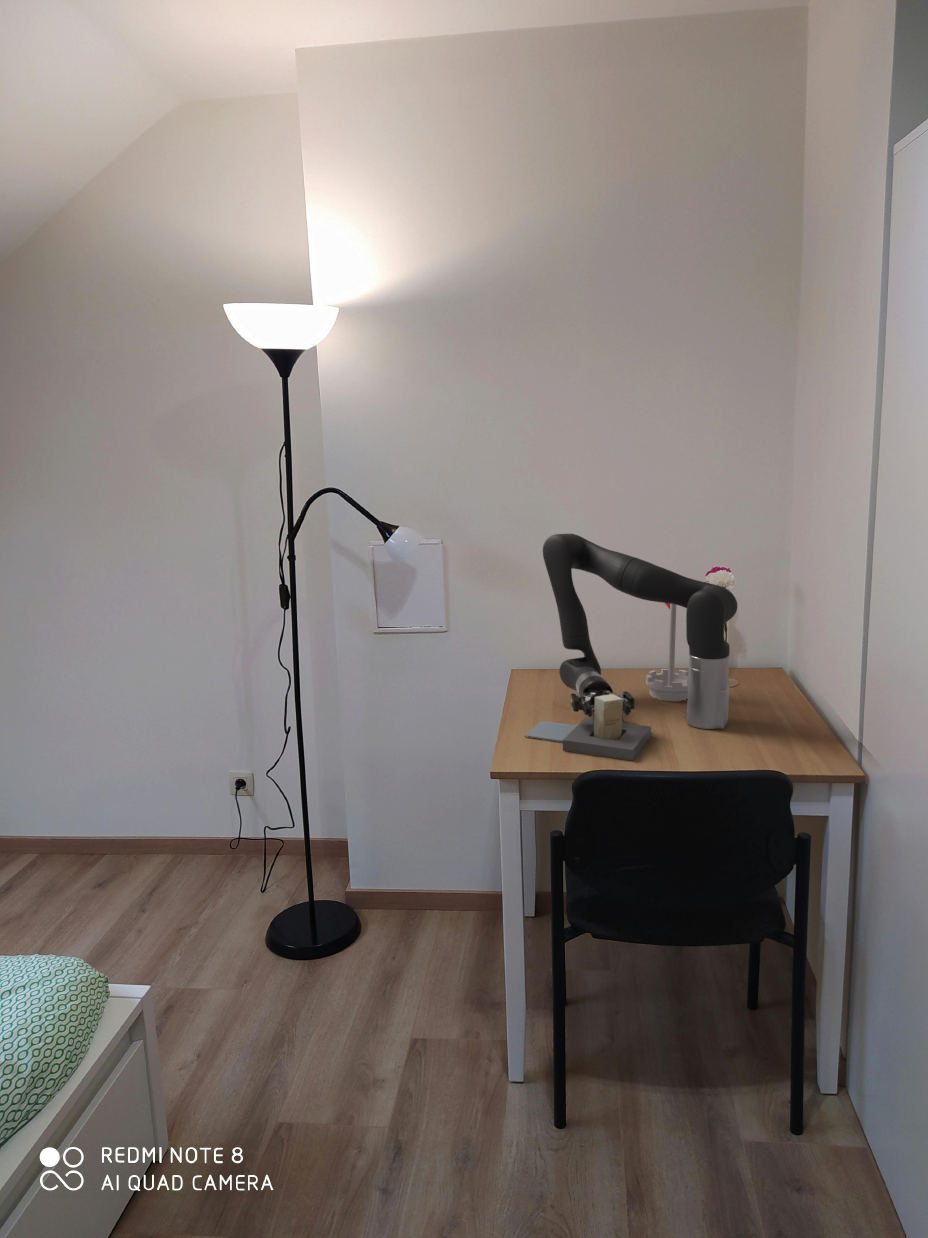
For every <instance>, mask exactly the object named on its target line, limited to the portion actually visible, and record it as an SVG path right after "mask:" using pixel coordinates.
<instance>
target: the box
mask: <svg viewBox="0 0 928 1238" xmlns="http://www.w3.org/2000/svg"><path fill="white" fill-rule="evenodd" d="M622 705H623V699H622V698H620V697H618V696H616V695H614V694H610V695H603V696H597V697H595V707H594V710H593V711H594V713H593V719H594V737H599V738H606V739H613V740H619V739H620V738H621V734H622V723H623V711H622Z"/></svg>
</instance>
